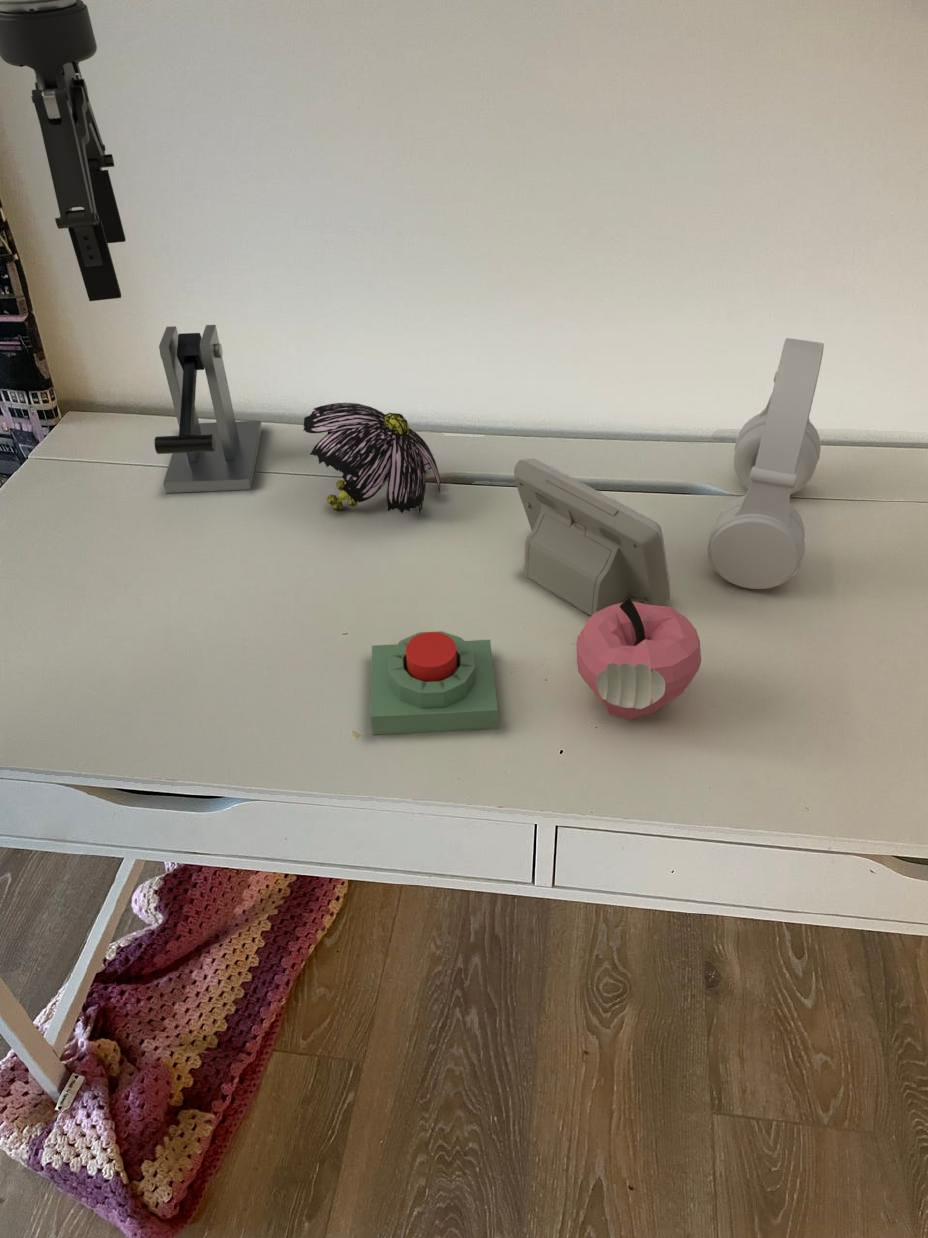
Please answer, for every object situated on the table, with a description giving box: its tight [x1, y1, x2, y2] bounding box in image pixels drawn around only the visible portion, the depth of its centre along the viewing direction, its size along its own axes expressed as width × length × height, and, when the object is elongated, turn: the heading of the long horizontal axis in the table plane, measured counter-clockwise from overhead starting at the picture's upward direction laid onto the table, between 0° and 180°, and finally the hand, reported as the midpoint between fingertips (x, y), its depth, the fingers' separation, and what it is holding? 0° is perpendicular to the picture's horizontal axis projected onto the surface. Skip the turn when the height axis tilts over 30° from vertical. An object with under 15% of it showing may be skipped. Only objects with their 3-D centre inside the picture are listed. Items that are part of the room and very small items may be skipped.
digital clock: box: [513, 458, 671, 617], centre depth 85 cm, size 16×9×11 cm, turn 33°
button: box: [406, 631, 457, 682], centre depth 75 cm, size 4×4×2 cm
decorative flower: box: [303, 402, 442, 517], centre depth 95 cm, size 15×12×15 cm
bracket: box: [158, 324, 263, 494], centre depth 99 cm, size 12×9×15 cm
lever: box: [153, 332, 216, 455], centre depth 93 cm, size 13×6×2 cm, turn 3°
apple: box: [575, 596, 702, 721], centre depth 73 cm, size 10×9×10 cm
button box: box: [369, 630, 499, 736], centre depth 76 cm, size 10×8×4 cm
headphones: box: [707, 337, 825, 590], centre depth 87 cm, size 20×8×19 cm, turn 160°
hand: (108, 268), depth 88 cm, fingers open, 13 cm apart
